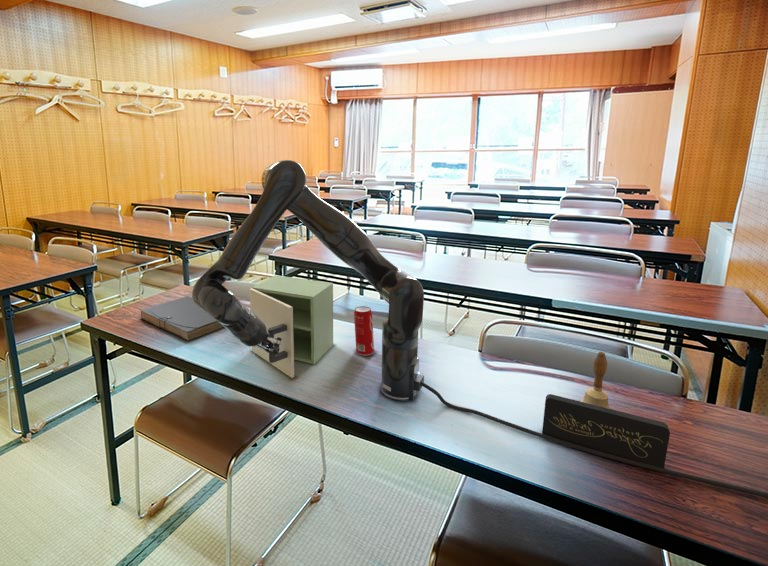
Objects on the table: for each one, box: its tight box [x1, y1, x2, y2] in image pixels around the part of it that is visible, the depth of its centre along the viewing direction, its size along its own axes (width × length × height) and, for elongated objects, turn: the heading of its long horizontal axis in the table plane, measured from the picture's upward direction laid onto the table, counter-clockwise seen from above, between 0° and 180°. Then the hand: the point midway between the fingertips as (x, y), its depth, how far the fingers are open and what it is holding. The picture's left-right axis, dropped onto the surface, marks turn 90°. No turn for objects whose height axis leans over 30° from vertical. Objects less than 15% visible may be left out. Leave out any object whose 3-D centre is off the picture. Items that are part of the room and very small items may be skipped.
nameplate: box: [541, 393, 671, 473], centre depth 91 cm, size 21×2×10 cm, turn 56°
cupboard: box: [251, 274, 334, 365], centre depth 141 cm, size 15×22×22 cm
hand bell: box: [579, 351, 611, 409], centre depth 103 cm, size 8×8×16 cm
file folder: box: [139, 296, 225, 342], centre depth 169 cm, size 33×4×24 cm
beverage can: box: [353, 305, 375, 357], centre depth 138 cm, size 6×6×15 cm
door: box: [249, 287, 295, 379], centre depth 129 cm, size 7×22×22 cm, turn 36°
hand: (273, 350), depth 122 cm, fingers closed on door, 2 cm apart
